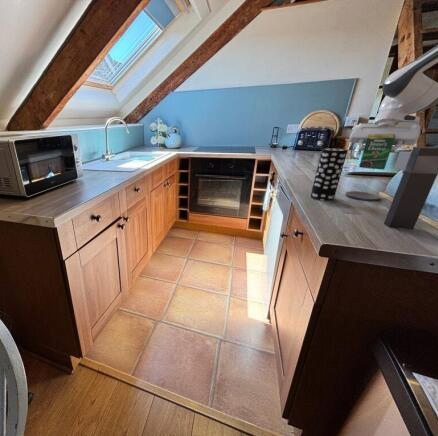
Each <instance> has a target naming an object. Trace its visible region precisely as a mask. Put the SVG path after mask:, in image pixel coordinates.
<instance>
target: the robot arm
mask: <svg viewBox="0 0 438 436" xmlns="http://www.w3.org/2000/svg"><path fill="white" fill-rule="evenodd" d="M436 64H438V44H437V45H435V46H434V47H432V48H431V49H429V50H427V51H426V52H425V53H423V54H422V55H420V56H418V57H417V58H415V59H414V60H412V61H411V62H409V63H407V64H405V65H403V66H401V67H400V68H398V69H396V70H395V71H393V72H392V73H391V74H389V75H388V76H387V77H386V78H385V80H383V83H382V94H383V95H384V98H383V100H381V103H380V105H379V107H378V113H377V114H376V115H375V116H374V120H373V122H360V123H357V124H355V125H353V127H352V129H351V133H350V135H349V137H348V138H349V139H348V141H349V142H350V143H351V144H357V145H358V146H359V149H358V150H359V152H363V151H364V147H365V144H366V140H367V137H368V135H369V134H395V138H394V141H393V144H392V147H391V150H390V154H394V153H396V151H397V150H398V149H400V148H401V147H402V146H414V145H416V144H417V143H418V141H419V138H420V135H421V134H420V133H421V125H420V120H421V119H420V118H421V117H420V116H418V115H414V114H417V113H420V112H423V111H426V110H428V109H429V108H431V107H433V106H434V105H436V103H437V102H438V82H437V81H435V80H434V79H432V78H430V77H428V76H427V75H425V74H424V73H423V72H425V71H426V70H428V69H430V68H431V67H432V66H434V65H436Z"/></svg>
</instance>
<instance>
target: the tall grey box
mask: <svg viewBox="0 0 438 436" xmlns="http://www.w3.org/2000/svg"><path fill="white" fill-rule="evenodd" d="M393 168H394V169H396V170H399V171H402V172H401V174H402V176H401V178H400V180H399V184H398V186H397V188H396V191H395V194H394V196H393V199H392V201H391V204H390V207H389V209H388V212H387V214H386V216H385V219H384V222H383V225H385V226H386V227H388V228H392V229H393V228H394V229H407V230H414V229H415V226H416V224H417V222H418V220H419V217H420V215H421V213H422V210H423V208H424V207H425V204H426V202H427V199H428V197H429V195H430V193H431V190H432V188H433V186H434V183H435V181H436V179H437V177H438V146H413V147H412V150H411V151H399V154H398V156H397V158H396V161H395V163H394V167H393Z"/></svg>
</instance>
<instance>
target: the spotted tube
mask: <svg viewBox="0 0 438 436" xmlns="http://www.w3.org/2000/svg"><path fill="white" fill-rule="evenodd" d="M347 155H348V149H346V148H336V147H335V148H334V147H332V148H329V147H325V148H321V151H320V155H319V159H318V163H317V168H316V172H315V175H314V179H313V184H312V188H311V192H310V195H309V196H310V198H311V199H313V200H317V201H323V202H332V201H334V200H335V197H336V193H337V189H338V186H339V182H340V179H341V176H342V172H343V169H344V164H345V161H346V157H347Z"/></svg>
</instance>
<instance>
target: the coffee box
mask: <svg viewBox="0 0 438 436" xmlns="http://www.w3.org/2000/svg"><path fill="white" fill-rule="evenodd" d="M394 138H395V134H369V135H368V137H367V140H366V143H364V145H365V147H364V151H362V156H361V159H360V161H359V165H358V168H361V169H374V170H385V169H386V166H387V164H388V163H387V162H388V159H389V157H390V154H391V153H390V150H391V147H392V146H393V145H394V144H393V141H394Z"/></svg>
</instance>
